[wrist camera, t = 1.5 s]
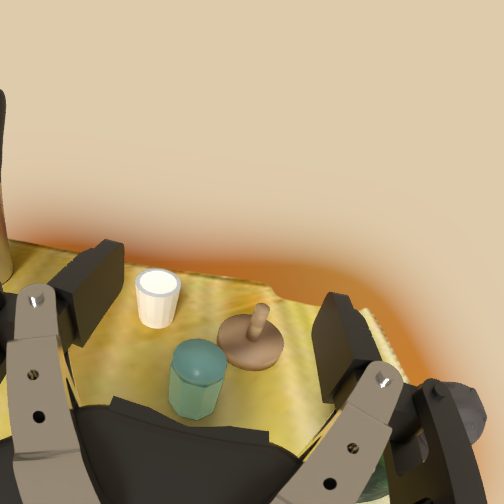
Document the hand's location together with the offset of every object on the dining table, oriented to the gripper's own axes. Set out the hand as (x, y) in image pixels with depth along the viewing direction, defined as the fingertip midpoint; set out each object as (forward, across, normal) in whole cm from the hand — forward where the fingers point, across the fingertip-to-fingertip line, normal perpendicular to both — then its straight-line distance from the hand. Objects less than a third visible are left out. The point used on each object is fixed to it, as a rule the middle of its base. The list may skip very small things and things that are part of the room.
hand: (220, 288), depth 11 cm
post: (+23, -6, +25) cm, 34 cm away
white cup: (+24, +9, +25) cm, 36 cm away
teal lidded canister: (+11, +1, +25) cm, 28 cm away
